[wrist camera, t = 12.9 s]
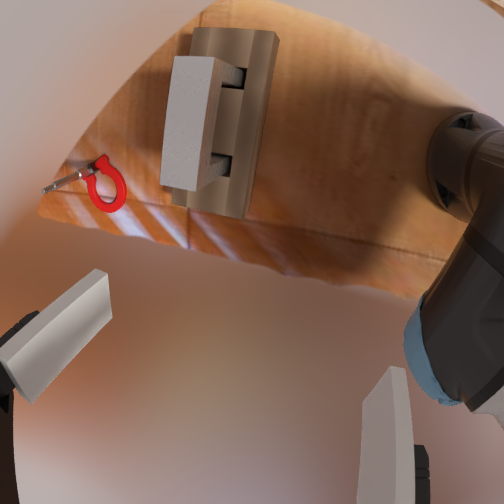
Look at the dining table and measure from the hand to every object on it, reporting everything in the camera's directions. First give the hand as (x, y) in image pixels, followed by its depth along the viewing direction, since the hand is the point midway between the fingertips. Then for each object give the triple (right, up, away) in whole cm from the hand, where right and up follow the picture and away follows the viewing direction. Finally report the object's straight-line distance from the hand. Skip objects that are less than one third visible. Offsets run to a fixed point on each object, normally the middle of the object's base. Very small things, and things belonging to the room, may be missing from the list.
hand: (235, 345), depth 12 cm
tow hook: (-24, +15, +33) cm, 44 cm away
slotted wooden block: (-3, +21, +24) cm, 33 cm away
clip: (-3, +21, +24) cm, 32 cm away
